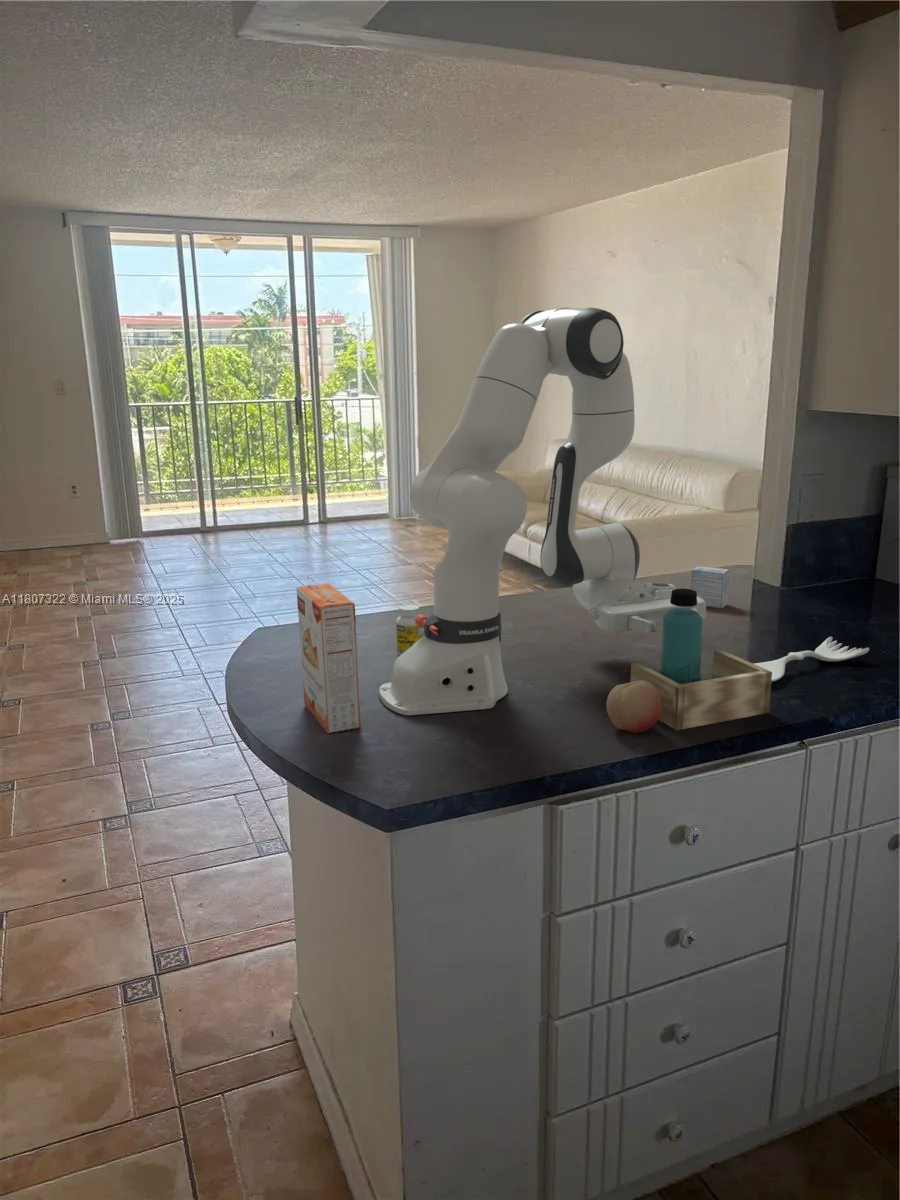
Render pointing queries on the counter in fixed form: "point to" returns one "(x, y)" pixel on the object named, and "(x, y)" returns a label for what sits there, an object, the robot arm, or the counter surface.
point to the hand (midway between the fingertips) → (676, 624)
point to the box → (711, 693)
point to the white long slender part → (821, 652)
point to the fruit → (634, 706)
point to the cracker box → (329, 656)
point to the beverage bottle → (682, 639)
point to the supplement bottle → (407, 628)
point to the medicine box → (711, 585)
